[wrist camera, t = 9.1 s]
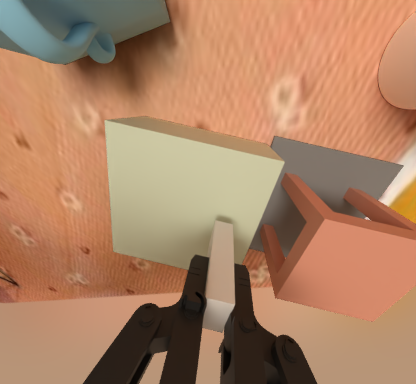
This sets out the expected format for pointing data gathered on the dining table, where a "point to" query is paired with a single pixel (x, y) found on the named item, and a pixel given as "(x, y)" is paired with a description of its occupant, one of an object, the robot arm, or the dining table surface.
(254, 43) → the dining table surface
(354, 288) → the stool
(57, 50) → the teapot
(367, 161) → the mat
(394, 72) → the cup
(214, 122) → the dining table surface
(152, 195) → the step block
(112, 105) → the dining table surface
